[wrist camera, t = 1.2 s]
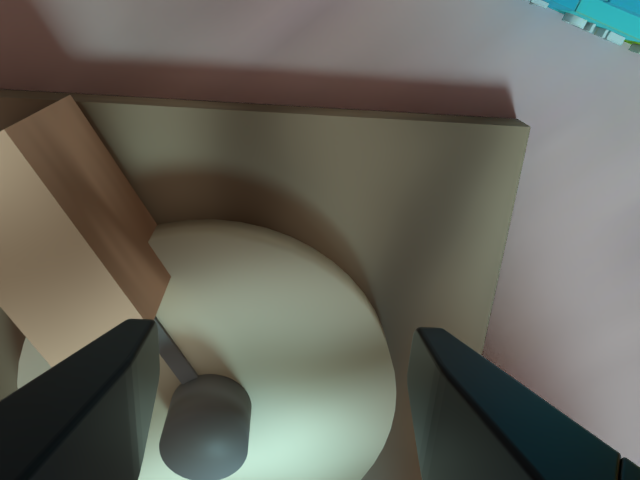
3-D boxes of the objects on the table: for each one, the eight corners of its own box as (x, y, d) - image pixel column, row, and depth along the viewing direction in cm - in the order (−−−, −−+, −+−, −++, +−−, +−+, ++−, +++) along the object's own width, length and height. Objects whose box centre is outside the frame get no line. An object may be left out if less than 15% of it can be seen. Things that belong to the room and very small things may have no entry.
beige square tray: (517, 118, 20) (604, 171, 14) (432, 536, 28) (467, 672, 22) (-102, 83, 18) (-267, 127, 13) (-2, 534, 26) (-78, 678, 21)
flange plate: (441, 435, 23) (472, 530, 19) (161, 548, 25) (136, 657, 21) (217, 13, 17) (195, 25, 13) (-143, 210, 18) (-264, 275, 14)
